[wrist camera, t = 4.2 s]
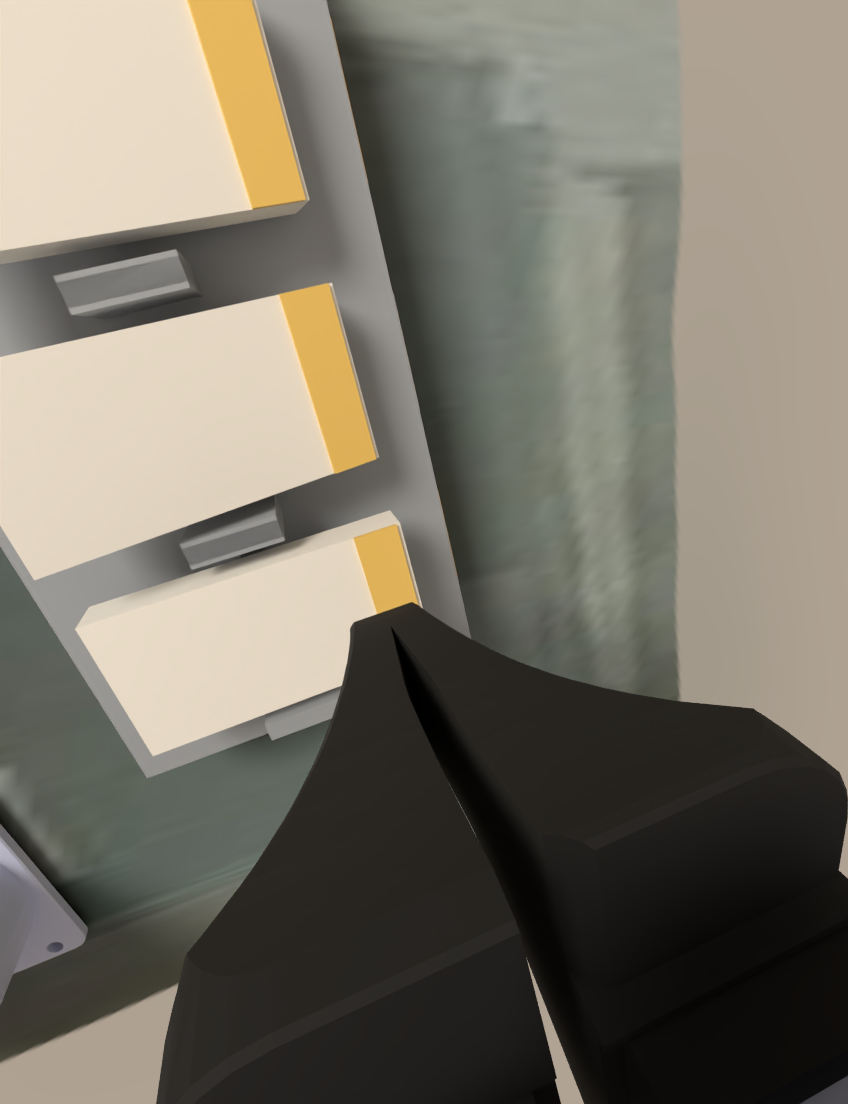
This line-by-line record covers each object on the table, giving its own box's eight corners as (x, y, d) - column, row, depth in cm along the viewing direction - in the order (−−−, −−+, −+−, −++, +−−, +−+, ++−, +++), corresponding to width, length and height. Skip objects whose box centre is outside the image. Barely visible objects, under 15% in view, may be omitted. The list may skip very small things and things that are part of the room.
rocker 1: (-126, 286, 8) (-159, 275, 7) (-311, -22, 7) (-382, -83, 6) (295, 213, 11) (310, 198, 10) (228, -26, 9) (238, -71, 8)
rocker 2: (42, 563, 10) (33, 582, 9) (-70, 377, 9) (-94, 378, 8) (363, 451, 13) (380, 457, 12) (317, 289, 11) (333, 282, 10)
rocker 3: (160, 727, 13) (152, 759, 12) (89, 607, 12) (73, 630, 11) (423, 631, 14) (435, 652, 13) (390, 510, 13) (401, 524, 12)
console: (165, 711, 18) (131, 838, 13) (-245, -10, 10) (-663, -295, 5) (449, 610, 19) (505, 693, 15) (282, -77, 12) (293, -342, 7)
